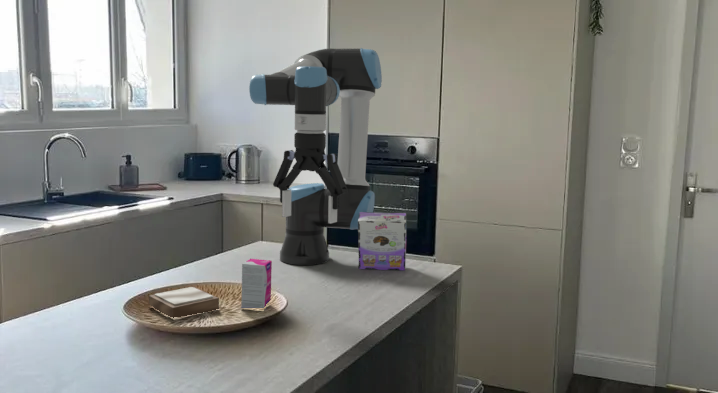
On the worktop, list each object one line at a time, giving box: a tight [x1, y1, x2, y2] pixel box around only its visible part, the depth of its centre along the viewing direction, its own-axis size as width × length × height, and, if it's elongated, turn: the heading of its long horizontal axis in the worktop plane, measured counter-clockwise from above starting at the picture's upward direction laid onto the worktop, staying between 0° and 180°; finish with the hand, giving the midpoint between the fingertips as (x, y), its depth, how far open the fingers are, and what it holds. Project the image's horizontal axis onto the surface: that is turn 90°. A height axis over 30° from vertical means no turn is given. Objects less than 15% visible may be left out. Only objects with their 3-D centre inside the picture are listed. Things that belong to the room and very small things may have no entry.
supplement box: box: [240, 258, 273, 309], centre depth 172 cm, size 6×6×12 cm
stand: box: [148, 286, 220, 318], centre depth 171 cm, size 12×12×3 cm
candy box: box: [357, 211, 407, 271], centre depth 209 cm, size 14×6×16 cm, turn 85°
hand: (309, 219), depth 174 cm, fingers open, 13 cm apart
